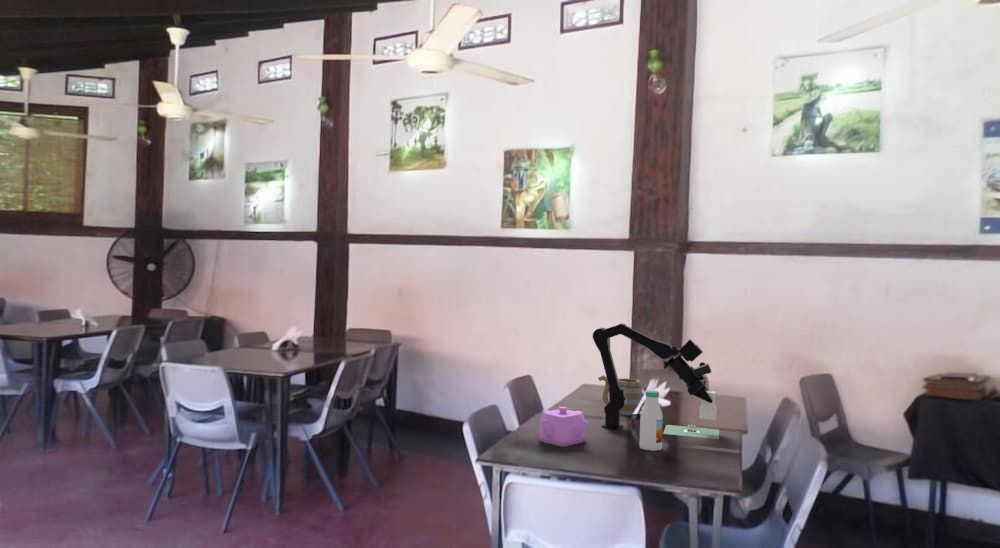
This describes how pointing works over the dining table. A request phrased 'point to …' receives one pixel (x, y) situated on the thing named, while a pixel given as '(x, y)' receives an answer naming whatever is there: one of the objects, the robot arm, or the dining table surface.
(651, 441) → the milk bottle
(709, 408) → the plug housing
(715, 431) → the board
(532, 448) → the dining table surface
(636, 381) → the tankard
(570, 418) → the pink lidded box
